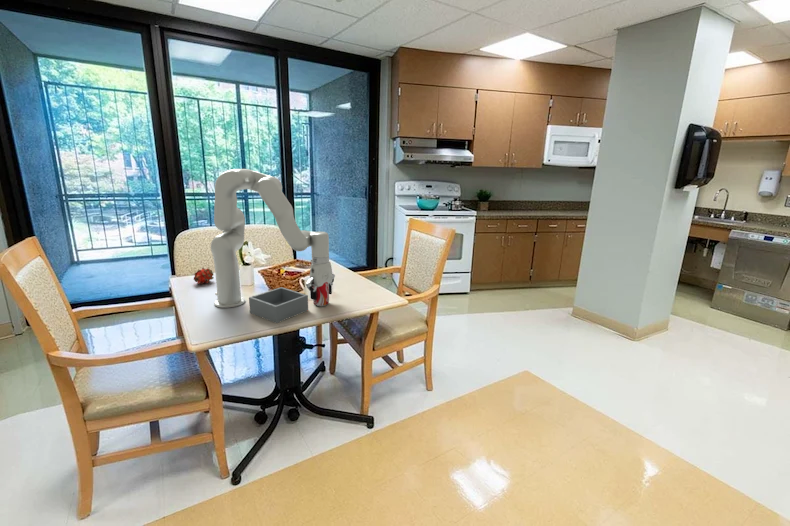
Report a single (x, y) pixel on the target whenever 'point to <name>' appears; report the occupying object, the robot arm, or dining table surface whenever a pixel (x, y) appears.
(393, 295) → the dining table surface
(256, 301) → the crate
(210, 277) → the dragon fruit
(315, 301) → the soda can
